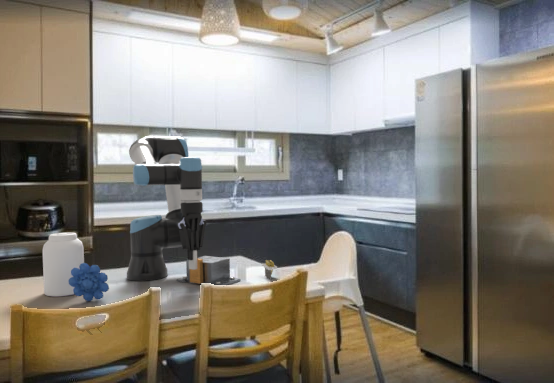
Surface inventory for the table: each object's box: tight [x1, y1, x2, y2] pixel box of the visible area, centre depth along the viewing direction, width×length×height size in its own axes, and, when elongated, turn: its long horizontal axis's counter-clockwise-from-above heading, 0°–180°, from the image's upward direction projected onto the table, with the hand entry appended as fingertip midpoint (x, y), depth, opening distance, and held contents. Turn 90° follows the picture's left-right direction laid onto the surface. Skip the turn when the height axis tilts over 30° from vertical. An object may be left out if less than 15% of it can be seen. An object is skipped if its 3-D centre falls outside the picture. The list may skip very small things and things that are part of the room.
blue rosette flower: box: [68, 262, 110, 302], centre depth 137 cm, size 12×7×12 cm, turn 104°
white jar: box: [42, 232, 85, 298], centre depth 149 cm, size 12×12×20 cm
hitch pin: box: [189, 259, 204, 285], centre depth 163 cm, size 5×16×8 cm, turn 147°
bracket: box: [176, 255, 241, 286], centre depth 162 cm, size 20×12×8 cm, turn 57°
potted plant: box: [261, 259, 278, 282], centre depth 165 cm, size 12×18×7 cm, turn 16°
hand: (193, 268), depth 155 cm, fingers closed
